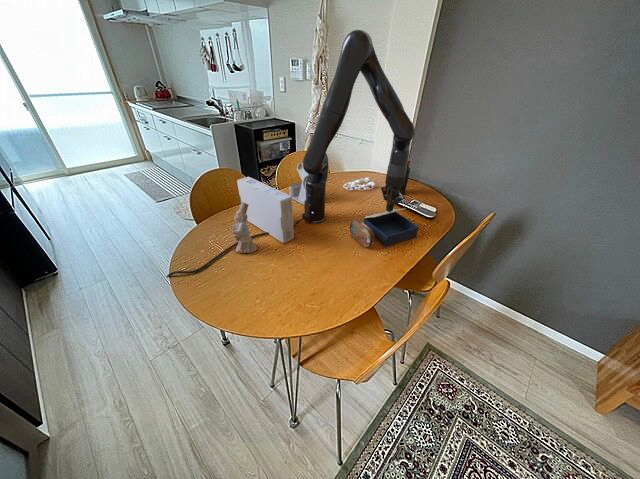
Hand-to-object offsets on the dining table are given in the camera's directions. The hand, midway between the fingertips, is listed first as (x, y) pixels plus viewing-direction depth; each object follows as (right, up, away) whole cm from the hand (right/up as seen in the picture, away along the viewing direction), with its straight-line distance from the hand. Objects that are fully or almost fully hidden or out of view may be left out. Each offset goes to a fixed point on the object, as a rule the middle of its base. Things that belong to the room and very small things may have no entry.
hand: (389, 211), depth 115 cm
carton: (+1, -10, +4) cm, 10 cm away
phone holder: (-40, +10, +31) cm, 52 cm away
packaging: (-55, -7, +5) cm, 56 cm away
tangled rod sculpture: (-6, +19, +45) cm, 49 cm away
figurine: (-62, -17, -8) cm, 64 cm away
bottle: (+17, +15, +40) cm, 46 cm away
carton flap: (-1, -1, +3) cm, 3 cm away
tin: (-13, -14, -2) cm, 19 cm away
